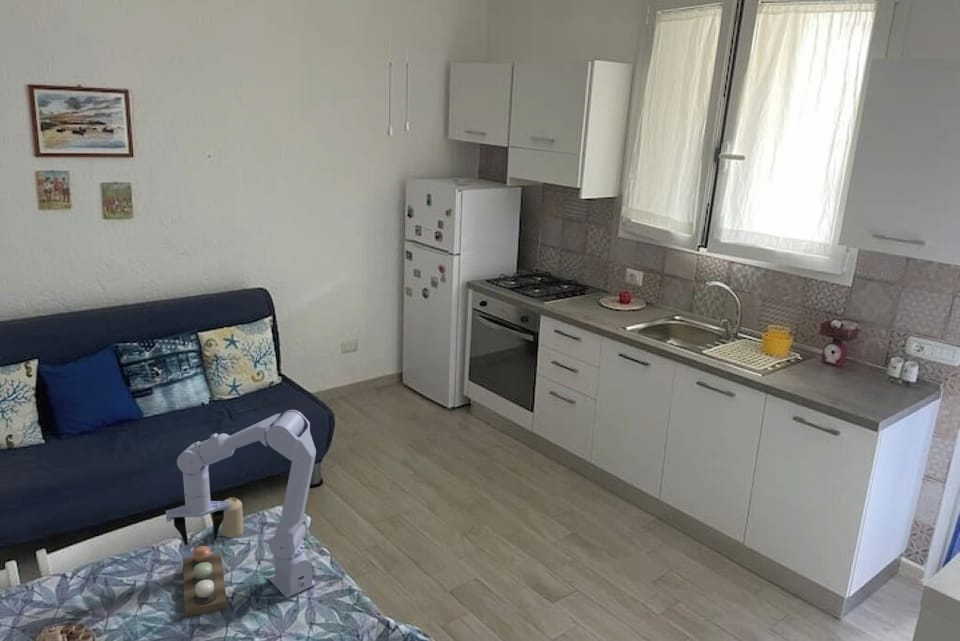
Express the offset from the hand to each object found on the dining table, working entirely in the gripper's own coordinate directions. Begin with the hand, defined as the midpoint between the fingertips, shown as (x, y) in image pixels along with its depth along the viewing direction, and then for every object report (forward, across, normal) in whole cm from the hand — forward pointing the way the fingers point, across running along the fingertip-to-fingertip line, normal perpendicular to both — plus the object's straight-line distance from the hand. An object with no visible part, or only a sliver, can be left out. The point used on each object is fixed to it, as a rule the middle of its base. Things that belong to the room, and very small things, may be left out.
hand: (200, 540), depth 177 cm
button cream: (+5, 0, +14) cm, 15 cm away
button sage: (+5, 0, +7) cm, 8 cm away
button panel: (+8, 0, +7) cm, 11 cm away
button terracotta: (+5, 0, 0) cm, 5 cm away
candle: (+9, -8, -14) cm, 18 cm away
